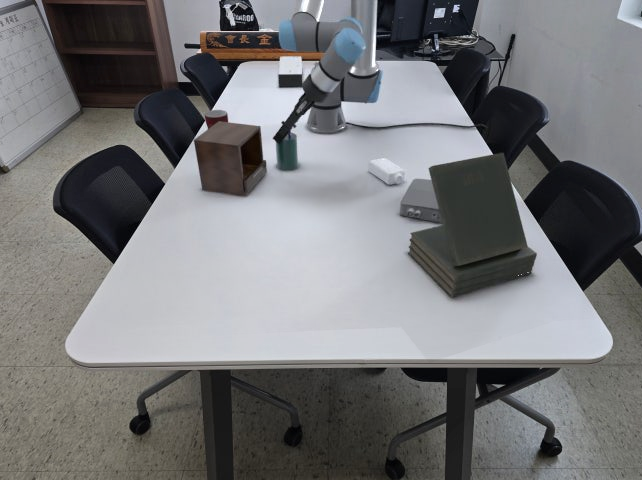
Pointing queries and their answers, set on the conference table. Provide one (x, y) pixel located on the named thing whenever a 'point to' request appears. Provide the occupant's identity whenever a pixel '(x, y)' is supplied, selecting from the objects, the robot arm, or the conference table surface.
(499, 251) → the stack of books
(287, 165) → the pen pot
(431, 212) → the electronic device
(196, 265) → the conference table surface
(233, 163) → the open wooden box
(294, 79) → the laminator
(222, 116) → the mug
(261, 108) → the conference table surface
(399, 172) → the white bottle
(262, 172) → the drawer
